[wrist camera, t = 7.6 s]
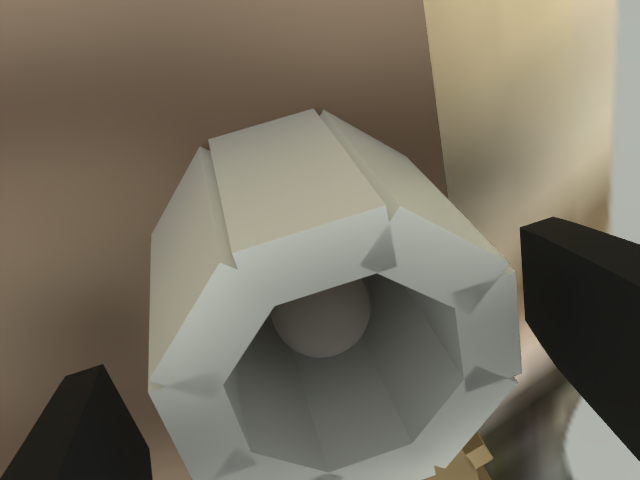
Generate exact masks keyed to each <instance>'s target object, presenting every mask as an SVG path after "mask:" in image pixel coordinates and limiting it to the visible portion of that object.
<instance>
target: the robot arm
mask: <svg viewBox="0 0 640 480" xmlns="http://www.w3.org/2000/svg"><path fill="white" fill-rule="evenodd" d="M520 239H521V256H522V273H523V290H524V308H525V321H526V322H527V324H528V325H529V327H530V328H531V330H532V331H533V333H534V334H535V336H536V338H537V339H538V341H539V342H540V344H541V345H542V347H543V348H544V350H545V351H546V353H547V354H548V355H549V357H550V358H551V360H552V361H553V363H554V364H555V366H556V367H557V368H558V369H559V370H560V372H561V373H562V374H563V375H564V376H565V378H566V379H567V380H568V381H569V382H570V383H571V384H572V386H573V387H574V388H575V389H576V390H577V391H578V392H579V394H580V395H581V396H582V397H583V398H584V399H585V400H586V402H587V403H588V404H589V405H590V406H591V407H592V408H593V409H594V411H595V412H596V413H597V414H598V415H599V416H600V417H601V418H602V419H603V421H604V422H605V423H606V424H607V425H608V426H609V427H610V428H611V430H612V431H613V432H614V433H615V434H616V435H617V436H618V438H619V439H620V440H621V441H622V442H623V443H624V444H625V445H626V446H627V448H628V449H629V450H630V451H631V452H632V453H633V454H634V456H635V457H636V458H637V459H638V460H639V461H640V245H639V244H636V243H633V242H630V241H627V240H625V239H622V238H618V237H616V236H613V235H610V234H607V233H604V232H601V231H598V230H595V229H592V228H589V227H586V226H583V225H580V224H577V223H574V222H570V221H567V220H563V219H560V218H556V217H551V218H548V219H545V220H541V221H538V222H535V223H532V224H529V225H526V226H523V227H520ZM0 480H153V477H152V467H151V458H150V448H149V447H148V445H147V443H146V441H145V439H144V438H143V436H142V434H141V432H140V430H139V428H138V427H137V425H136V423H135V421H134V419H133V418H132V416H131V414H130V412H129V410H128V408H127V407H126V405H125V403H124V401H123V399H122V398H121V396H120V394H119V392H118V390H117V388H116V387H115V385H114V383H113V381H112V379H111V378H110V376H109V374H108V372H107V370H106V368H105V367H104V365H103V364H101V365H98V366H95V367H92V368H89V369H86V370H83V371H79V372H76V373H73V374H70V375H67V376H65V377H64V379H63V380H62V382H61V383H60V385H59V386H58V388H57V389H56V391H55V392H54V394H53V396H52V397H51V399H50V400H49V402H48V404H47V405H46V407H45V408H44V410H43V412H42V413H41V415H40V417H39V418H38V420H37V421H36V423H35V425H34V426H33V428H32V429H31V431H30V433H29V434H28V436H27V437H26V439H25V441H24V442H23V444H22V445H21V447H20V448H19V450H18V452H17V453H16V455H15V456H14V458H13V459H12V461H11V462H10V464H9V466H8V467H7V469H6V470H5V472H4V473H3V475H2V477H1V478H0Z"/></svg>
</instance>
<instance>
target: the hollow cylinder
mask: <svg viewBox="0 0 640 480" xmlns="http://www.w3.org/2000/svg"><path fill="white" fill-rule="evenodd" d="M208 142H209V146H210V151H209V150H207V149H205V148H203V147H201V146H200V147H199V148H198V150H197V152H196V154H195V156H194V158H193V159H192V161H191V163H190V165H189V167H188V168H187V170H186V172H185V174H184V176H183V178H182V179H181V181H180V183H179V185H178V187H177V189H176V190H175V192H174V194H173V196H172V198H171V200H170V201H169V203H168V205H167V207H166V209H165V211H164V212H163V214H162V216H161V218H160V220H159V222H158V223H157V225H156V227H155V229H154V231H153V233H152V234H151V265H150V316H149V367H148V393H149V395H150V397H151V399H152V401H153V403H154V405H155V407H156V409H157V411H158V413H159V415H160V417H161V419H162V421H163V423H164V425H165V427H166V429H167V431H168V433H169V435H170V437H171V438H172V440H173V442H174V444H175V446H176V448H177V450H178V452H179V454H180V456H181V458H182V460H183V462H184V464H185V466H186V468H187V470H188V472H189V474H190V476H191V478H192V480H423V479H426V478H428V477H431V476H434V475H436V474H435V468H434V466H438V467H441V468H446V467H447V466H448V465H449V463H450V462H451V461H452V460H453V459H454V458H455V456H456V455H457V454H458V453H459V452H460V451H461V449H462V448H463V447H464V446H465V445H466V443H467V442H468V441H469V440H470V439H471V438H472V436H473V435H474V434H475V433H476V432H477V431H478V429H479V428H480V427H481V426H482V425H483V423H484V422H485V421H486V420H487V419H488V418H489V416H490V415H491V414H492V413H493V412H494V411H495V409H496V408H497V407H498V406H499V405H500V404H501V402H502V401H503V400H504V399H505V398H506V396H507V395H508V394H509V393H510V392H511V391H512V389H513V388H514V387H515V386H516V385H517V384H518V382H517V381H516V379H515V378H514V377H513V376H516V375H519V374H521V373H522V367H521V351H520V334H519V318H518V302H517V286H516V272H515V271H514V270H513V269H512V268H511V266H510V265H509V264H510V263H509V262H508V260H507V259H506V258H505V257H504V256H503V255H502V254H501V253H500V252H499V251H498V250H497V249H496V248H495V247H494V246H493V245H492V244H491V243H490V242H489V241H488V240H487V239H486V238H485V237H484V236H483V235H482V234H481V233H480V232H479V231H478V230H477V229H476V228H475V227H474V226H473V224H472V223H471V222H470V221H469V220H468V219H467V218H466V217H465V216H464V215H463V214H462V213H461V212H460V211H459V210H458V209H457V208H456V207H455V206H454V205H453V204H452V203H451V202H450V201H449V200H448V199H447V198H446V197H445V196H444V195H443V194H442V193H441V192H440V191H439V189H438V188H437V187H436V186H435V185H434V184H433V183H432V182H431V181H430V180H429V179H428V178H427V177H426V176H425V175H424V174H423V173H422V172H421V171H420V170H419V169H418V168H417V167H416V166H415V165H414V164H413V163H412V162H411V161H410V160H409V159H408V158H407V157H406V156H405V155H403V154H401V153H399V152H398V151H396V150H394V149H392V148H391V147H389V146H387V145H385V144H383V143H382V142H380V141H378V140H376V139H375V138H373V137H371V136H369V135H368V134H366V133H364V132H362V131H361V130H359V129H357V128H355V127H354V126H352V125H350V124H348V123H347V122H345V121H343V120H341V119H339V118H338V117H336V116H334V115H332V114H331V113H329V112H327V111H325V110H323V111H322V113H321V115H320V116H319V115H318V114H317V112H316V111H315V110H314V108H313V109H310V110H306V111H303V112H300V113H296V114H293V115H289V116H286V117H283V118H279V119H276V120H272V121H269V122H266V123H262V124H259V125H255V126H252V127H249V128H245V129H242V130H238V131H235V132H232V133H228V134H225V135H221V136H218V137H215V138H211V139H208ZM360 278H362V280H363V282H364V284H365V286H366V288H367V291H368V294H369V299H370V317H369V321H368V324H367V327H366V329H365V331H364V333H363V335H362V336H361V338H360V339H359V340H358V342H357V343H355V344H354V345H353V346H352V347H351V348H350V349H348V350H346V351H345V352H343V353H341V354H338V355H336V356H332V357H326V358H315V357H309V356H306V355H303V354H300V353H298V352H296V351H295V350H293V349H291V348H290V347H289V346H288V345H287V344H286V343H285V342H284V341H283V340H282V339H281V337H280V336H279V334H278V333H277V331H276V329H275V327H274V324H273V321H272V317H271V315H269V314H270V312H271V311H272V309H273V308H274V306H276V305H280V304H283V303H286V302H289V301H292V300H295V299H298V298H301V297H304V296H308V295H311V294H314V293H317V292H320V291H323V290H326V289H329V288H332V287H336V286H339V285H342V284H345V283H348V282H351V281H354V280H357V279H360Z"/></svg>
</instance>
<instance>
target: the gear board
mask: <svg viewBox="0 0 640 480" xmlns="http://www.w3.org/2000/svg"><path fill="white" fill-rule="evenodd" d="M313 108H314V110H315V111H316V112H317V114H318V115H319V116H320V115H321V113H322V111H323V110H325V111H327V112H329V113H331V114H332V115H334V116H336V117H338V118H339V119H341V120H343V121H345V122H347V123H348V124H350V125H352V126H354V127H355V128H357V129H359V130H361V131H362V132H364V133H366V134H368V135H369V136H371V137H373V138H375V139H376V140H378V141H380V142H382V143H383V144H385V145H387V146H389V147H391V148H392V149H394V150H396V151H398V152H399V153H401V154H403V155H405V156H406V157H407V158H408V159H409V160H410V161H411V162H412V163H413V164H414V165H415V166H416V167H417V168H418V169H419V170H420V171H421V172H422V173H423V174H424V175H425V176H426V177H427V178H428V179H429V180H430V181H431V182H432V183H433V184H434V185H435V186H436V187H437V188H438V189H439V191H440V192H441V193H442V194H443V195H444V196H445V197H446V198H447V199H448V196H447V188H446V180H445V172H444V164H443V156H442V148H441V140H440V132H439V124H438V117H437V109H436V101H435V93H434V85H433V77H432V69H431V61H430V53H429V45H428V37H427V30H426V22H425V14H424V6H423V0H0V478H1V477H2V475H3V473H4V472H5V470H6V469H7V467H8V466H9V464H10V462H11V461H12V459H13V458H14V456H15V455H16V453H17V452H18V450H19V448H20V447H21V445H22V444H23V442H24V441H25V439H26V437H27V436H28V434H29V433H30V431H31V429H32V428H33V426H34V425H35V423H36V421H37V420H38V418H39V417H40V415H41V413H42V412H43V410H44V408H45V407H46V405H47V404H48V402H49V400H50V399H51V397H52V396H53V394H54V392H55V391H56V389H57V388H58V386H59V385H60V383H61V382H62V380H63V379H64V377H65V376H67V375H70V374H73V373H76V372H79V371H83V370H86V369H89V368H92V367H95V366H98V365H101V364H103V365H104V367H105V368H106V370H107V372H108V374H109V376H110V378H111V379H112V381H113V383H114V385H115V387H116V388H117V390H118V392H119V394H120V396H121V398H122V399H123V401H124V403H125V405H126V407H127V408H128V410H129V412H130V414H131V416H132V418H133V419H134V421H135V423H136V425H137V427H138V428H139V430H140V432H141V434H142V436H143V438H144V439H145V441H146V443H147V445H148V447H149V448H150V458H151V467H152V477H153V480H192V478H191V476H190V474H189V472H188V470H187V468H186V466H185V464H184V462H183V460H182V458H181V456H180V454H179V452H178V450H177V448H176V446H175V444H174V442H173V440H172V438H171V437H170V435H169V433H168V431H167V429H166V427H165V425H164V423H163V421H162V419H161V417H160V415H159V413H158V411H157V409H156V407H155V405H154V403H153V401H152V399H151V397H150V395H149V393H148V367H149V316H150V265H151V234H152V233H153V231H154V229H155V227H156V225H157V223H158V222H159V220H160V218H161V216H162V214H163V212H164V211H165V209H166V207H167V205H168V203H169V201H170V200H171V198H172V196H173V194H174V192H175V190H176V189H177V187H178V185H179V183H180V181H181V179H182V178H183V176H184V174H185V172H186V170H187V168H188V167H189V165H190V163H191V161H192V159H193V158H194V156H195V154H196V152H197V150H198V148H199V147H200V146H201V147H203V148H205V149H207V150H209V151H210V146H209V142H208V139H211V138H215V137H218V136H221V135H225V134H228V133H232V132H235V131H238V130H242V129H245V128H249V127H252V126H255V125H259V124H262V123H266V122H269V121H272V120H276V119H279V118H283V117H286V116H289V115H293V114H296V113H300V112H303V111H306V110H310V109H313ZM269 315H271V317H272V321H273V324H274V327H275V329H276V331H277V333H278V334H279V336H280V337H281V339H282V340H283V341H284V342H285V343H286V344H287V345H288V346H289V347H290V348H291V349H293V350H295V351H296V352H298V353H300V354H303V355H306V356H309V357H315V358H326V357H332V356H336V355H338V354H341V353H343V352H345V351H346V350H348V349H350V348H351V347H352V346H353V345H354V344H355V343H357V342H358V340H359V339H360V338H361V336H362V335H363V333H364V331H365V329H366V327H367V324H368V321H369V317H370V299H369V294H368V291H367V288H366V286H365V284H364V282H363V280H362V278H360V279H357V280H354V281H351V282H348V283H345V284H342V285H339V286H336V287H332V288H329V289H326V290H323V291H320V292H317V293H314V294H311V295H308V296H304V297H301V298H298V299H295V300H292V301H289V302H286V303H283V304H280V305H276V306H274V308H273V309H272V311H271V312H270V314H269ZM492 459H493V457H492V455H491V454H490V452H489V450H488V449H487V447H486V445H485V444H484V442H483V440H482V439H481V437H480V435H479V434H478V432H476V433H475V434H474V435H473V436H472V438H471V439H470V440H469V441H468V442H467V443H466V445H465V446H464V447H463V448H462V449H461V451H460V452H459V453H458V454H457V455H456V456H455V458H454V459H453V460H452V461H451V462H450V463H449V465H448V466H447V467H446V468H441V467H438V466H434V468H435V474H436V475H434V476H431V477H428V478H426V479H423V480H491V478H490V476H489V475H488V473H487V471H486V469H485V468H484V466H483V465H484V464H485V463H487V462H489V461H490V460H492Z"/></svg>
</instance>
